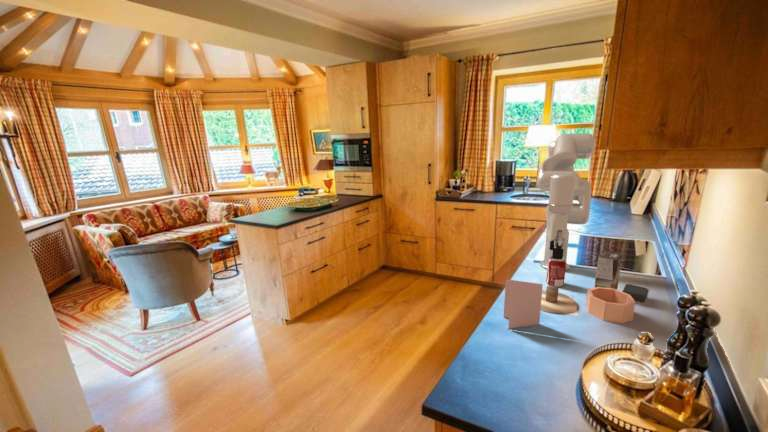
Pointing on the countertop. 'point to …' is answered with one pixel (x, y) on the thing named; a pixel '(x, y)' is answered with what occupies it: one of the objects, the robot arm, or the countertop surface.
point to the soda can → (556, 272)
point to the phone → (636, 292)
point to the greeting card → (522, 303)
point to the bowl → (610, 304)
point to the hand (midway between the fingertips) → (555, 254)
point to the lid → (556, 301)
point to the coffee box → (608, 270)
